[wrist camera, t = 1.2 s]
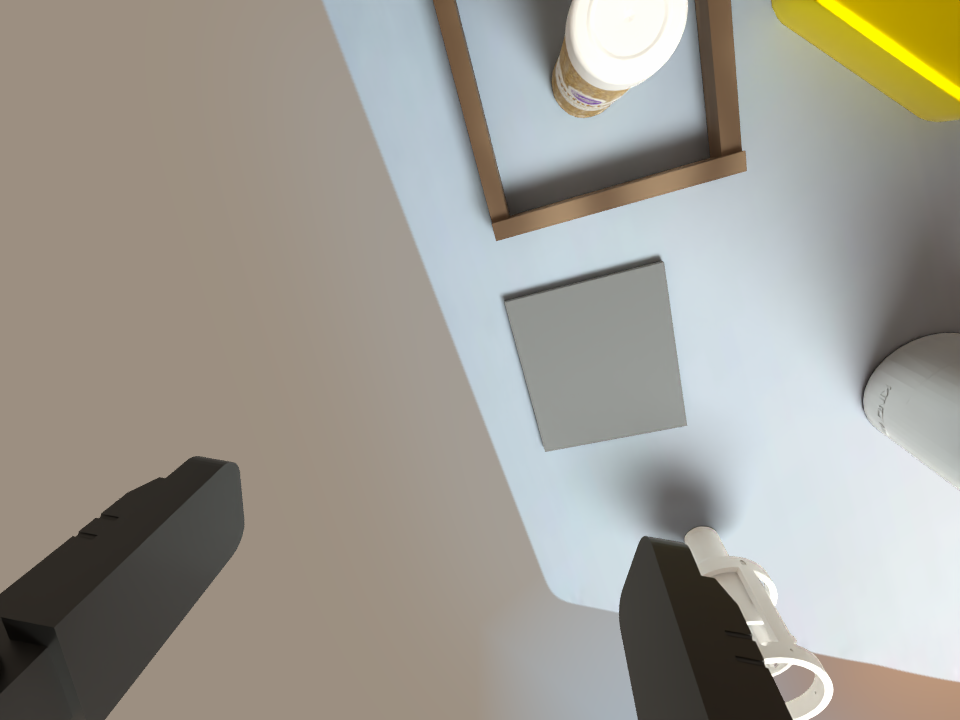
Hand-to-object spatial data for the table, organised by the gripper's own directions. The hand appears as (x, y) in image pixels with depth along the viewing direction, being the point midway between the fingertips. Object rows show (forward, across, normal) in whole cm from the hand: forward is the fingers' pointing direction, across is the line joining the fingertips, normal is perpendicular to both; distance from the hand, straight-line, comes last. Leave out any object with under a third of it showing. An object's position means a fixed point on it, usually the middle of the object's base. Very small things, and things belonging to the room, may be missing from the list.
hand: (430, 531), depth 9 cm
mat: (+28, -9, +7) cm, 30 cm away
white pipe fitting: (+29, -22, +23) cm, 43 cm away
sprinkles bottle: (+28, -4, -13) cm, 31 cm away
